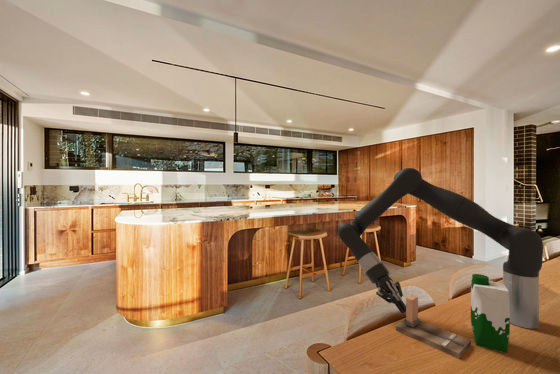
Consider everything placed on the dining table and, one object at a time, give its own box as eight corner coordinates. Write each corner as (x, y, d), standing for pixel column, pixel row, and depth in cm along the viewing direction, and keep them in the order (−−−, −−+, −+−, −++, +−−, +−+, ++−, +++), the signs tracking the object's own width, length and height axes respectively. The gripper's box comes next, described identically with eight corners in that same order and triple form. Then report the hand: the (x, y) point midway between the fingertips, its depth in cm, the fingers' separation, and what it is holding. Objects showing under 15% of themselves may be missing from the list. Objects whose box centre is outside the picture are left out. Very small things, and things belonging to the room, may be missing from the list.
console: (395, 330, 85) (395, 324, 85) (410, 320, 91) (410, 315, 91) (458, 358, 70) (458, 352, 70) (471, 345, 76) (471, 339, 76)
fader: (403, 323, 85) (403, 297, 85) (411, 318, 88) (411, 294, 88) (413, 327, 83) (413, 301, 83) (420, 322, 86) (420, 297, 86)
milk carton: (469, 332, 84) (469, 270, 84) (505, 340, 79) (505, 275, 79) (472, 346, 76) (472, 278, 76) (512, 356, 71) (512, 284, 71)
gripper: (369, 265, 91) (403, 313, 81) (389, 259, 99) (422, 301, 89) (356, 276, 95) (387, 322, 85) (376, 269, 103) (407, 311, 93)
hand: (405, 312), depth 87 cm, fingers closed
